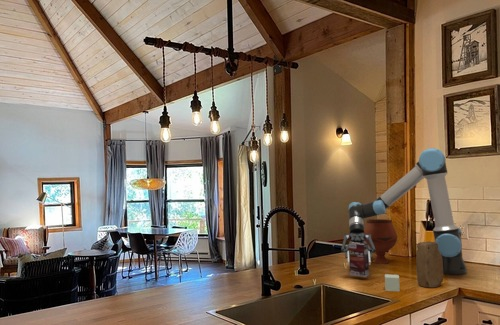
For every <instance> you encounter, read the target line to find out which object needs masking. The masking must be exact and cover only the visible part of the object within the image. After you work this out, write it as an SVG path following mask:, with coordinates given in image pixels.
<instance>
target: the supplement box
mask: <svg viewBox="0 0 500 325" xmlns="http://www.w3.org/2000/svg"><path fill="white" fill-rule="evenodd" d="M348 244H349V263H350V265H349V275H350V276H356V277H362V278H366V277H368V276H370V265H369V259H368V244H367V243H358V242H357V243H355V242H352V243H349V242H348Z"/></svg>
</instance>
